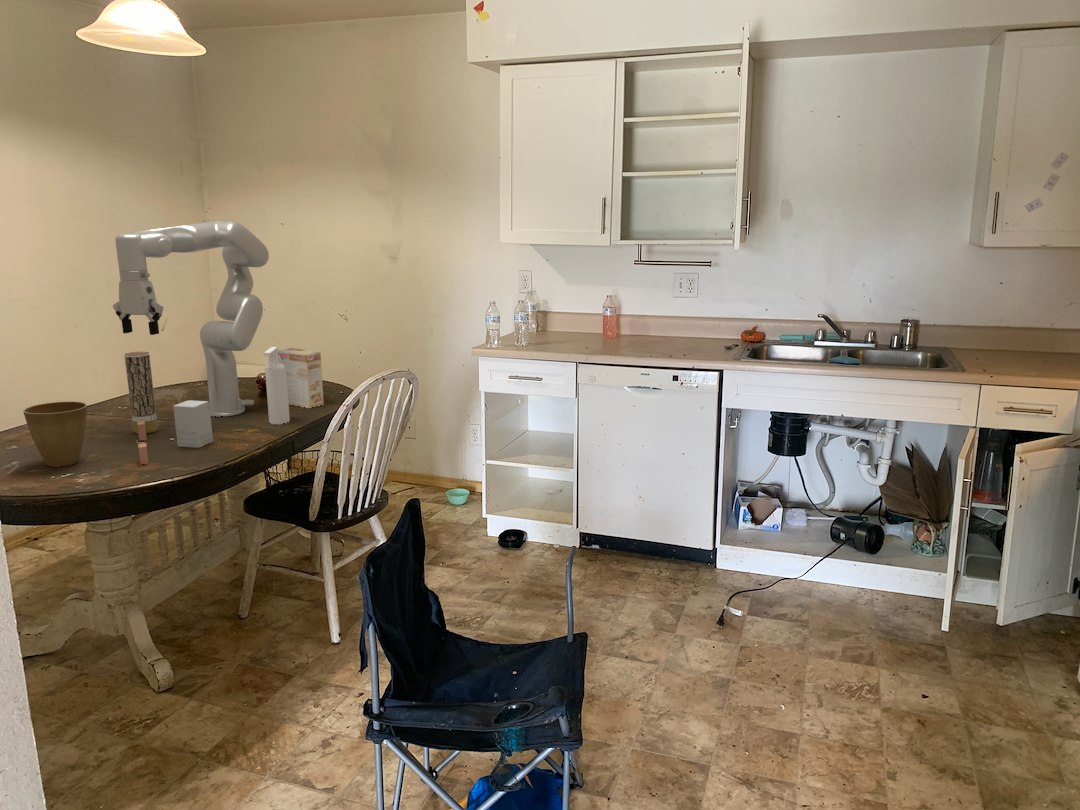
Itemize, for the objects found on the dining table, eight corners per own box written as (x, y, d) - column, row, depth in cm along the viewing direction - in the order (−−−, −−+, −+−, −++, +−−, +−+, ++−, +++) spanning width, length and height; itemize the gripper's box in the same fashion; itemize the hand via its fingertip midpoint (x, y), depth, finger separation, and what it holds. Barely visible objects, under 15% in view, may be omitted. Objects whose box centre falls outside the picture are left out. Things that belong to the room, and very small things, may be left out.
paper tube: (134, 435, 248) (124, 356, 242) (133, 430, 254) (124, 352, 248) (158, 433, 251) (149, 354, 245) (157, 428, 257) (148, 350, 251)
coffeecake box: (324, 405, 288) (321, 351, 283) (309, 409, 282) (305, 354, 277) (295, 399, 295) (292, 347, 291) (280, 403, 290) (276, 350, 285)
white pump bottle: (298, 416, 271) (290, 343, 265) (284, 426, 260) (275, 351, 253) (279, 416, 272) (270, 343, 265) (264, 426, 260) (254, 351, 254)
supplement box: (214, 441, 243) (210, 401, 240) (198, 448, 236) (194, 406, 233) (192, 439, 244) (188, 399, 241) (176, 446, 237) (172, 405, 234)
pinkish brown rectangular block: (146, 436, 247) (144, 420, 246) (148, 464, 221) (146, 446, 220) (139, 437, 246) (137, 421, 245) (140, 465, 220) (138, 447, 219)
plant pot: (87, 469, 217) (79, 411, 213) (24, 473, 213) (15, 415, 209) (99, 453, 231) (92, 399, 227) (40, 457, 227) (32, 402, 223)
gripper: (167, 276, 239) (173, 332, 244) (119, 274, 244) (127, 330, 248) (149, 278, 232) (156, 336, 237) (100, 276, 237) (108, 334, 241)
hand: (141, 333), depth 243 cm, fingers open, 9 cm apart
